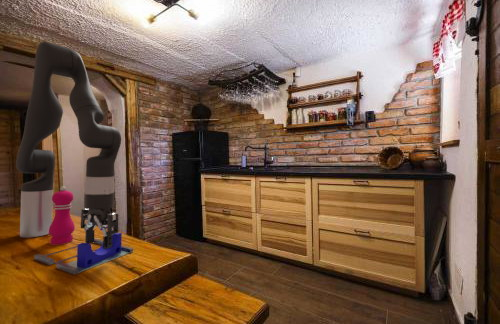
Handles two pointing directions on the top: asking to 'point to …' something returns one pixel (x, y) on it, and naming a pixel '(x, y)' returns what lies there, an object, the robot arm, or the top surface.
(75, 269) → the panel
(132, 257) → the top surface
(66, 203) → the pepper mill
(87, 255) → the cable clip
